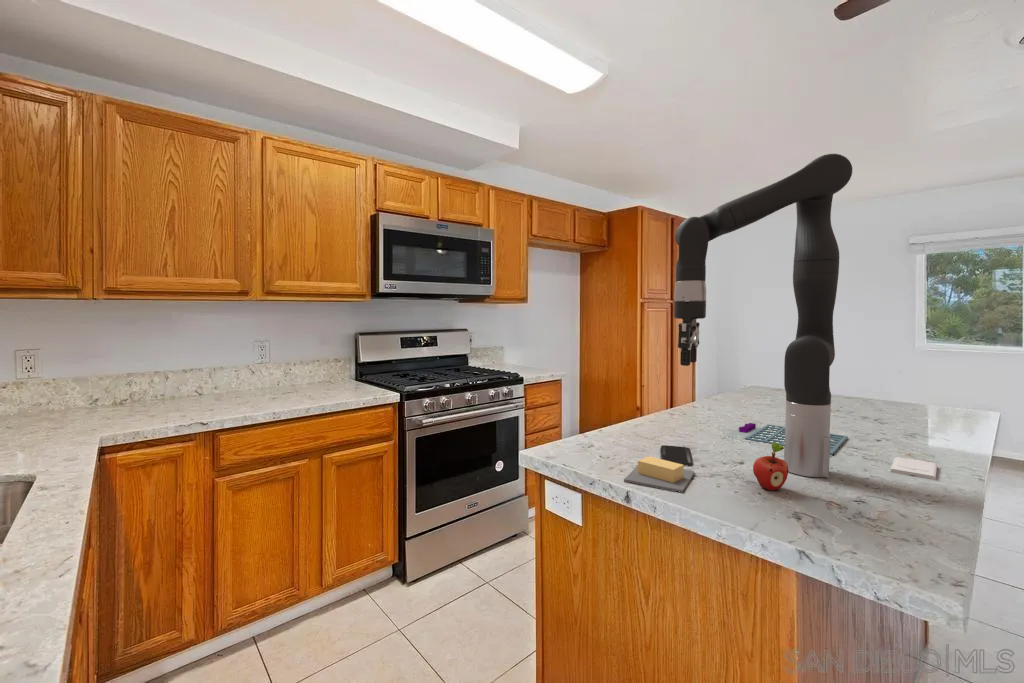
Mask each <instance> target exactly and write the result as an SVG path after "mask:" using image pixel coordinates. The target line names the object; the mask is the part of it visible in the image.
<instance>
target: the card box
mask: <svg viewBox="0 0 1024 683" xmlns="http://www.w3.org/2000/svg"><path fill="white" fill-rule="evenodd" d="M637 466H638V473H639V474H643V475H647V476H650V477H654V478H658V479H661V480H665V481H668V482H672V483H674V482H676V481H678V480H679V479H681V478H683V474H684V470H685V469H684V468H685V466H684V465H683V464H678V463H674V462H670V461H666V460H662V459H661V458H657V457H654V456H650V455H649V456H646V457H643V458H641V459H638V460H637Z"/></svg>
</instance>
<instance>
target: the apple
mask: <svg viewBox="0 0 1024 683" xmlns="http://www.w3.org/2000/svg"><path fill="white" fill-rule="evenodd" d="M771 446H772V447H771V448H772V452H771V455H765V456H760V457H758V458H756V459H755V461H754V462H753V467H752V472H753V474H754V477H755V479H756V480H757V482H758V485H759V486H760V487H761V488H764V489H766V490H768V491H777V490H781V489H782V488H783V486H784V485H785V483H786V481H787V479H788V476H789V471H788V465H787V463H786V462H785V461H784V459H782V458H779V457H776V453H777V452H780V451H784V450H783V449H784V447H783V446H781V445H780V444H779V443H776V442H773V443H772V445H771Z"/></svg>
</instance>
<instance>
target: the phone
mask: <svg viewBox="0 0 1024 683" xmlns="http://www.w3.org/2000/svg"><path fill="white" fill-rule="evenodd" d="M659 453H660V459H662V460H666V461H670V462H674V463H678V464H683V465H692V466H693V459H692V455H691V454H692V453H691V449H690V447H687V446H686V447H685V446H677V445H676V446H675V445H667V444H666V445H664V444H663V445H660V449H659Z"/></svg>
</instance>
